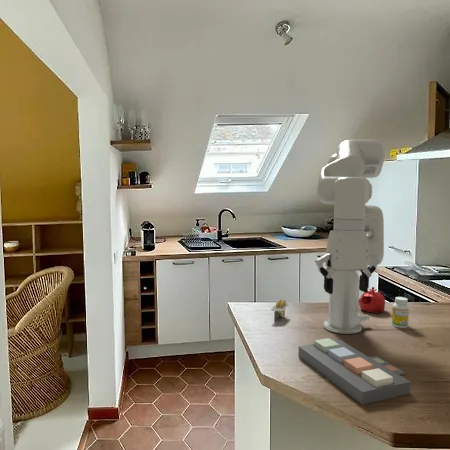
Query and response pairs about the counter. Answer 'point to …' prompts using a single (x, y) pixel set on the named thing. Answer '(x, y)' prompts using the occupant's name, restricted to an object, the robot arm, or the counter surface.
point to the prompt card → (388, 365)
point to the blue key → (340, 354)
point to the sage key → (325, 344)
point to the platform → (279, 309)
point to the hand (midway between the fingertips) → (346, 292)
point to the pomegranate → (372, 301)
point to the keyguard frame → (353, 375)
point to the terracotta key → (357, 365)
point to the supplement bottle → (400, 312)
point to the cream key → (377, 377)
